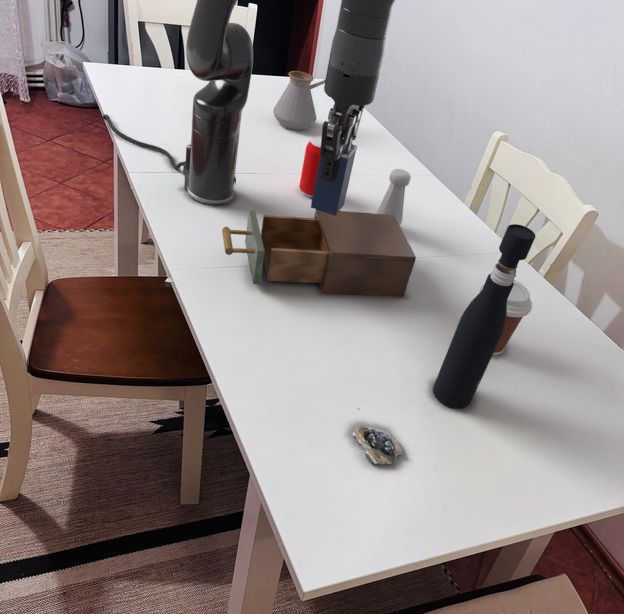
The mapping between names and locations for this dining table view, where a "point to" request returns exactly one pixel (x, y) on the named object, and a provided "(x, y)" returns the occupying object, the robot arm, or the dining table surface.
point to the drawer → (282, 248)
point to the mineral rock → (378, 444)
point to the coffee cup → (514, 313)
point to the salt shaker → (395, 195)
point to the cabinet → (365, 254)
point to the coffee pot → (297, 102)
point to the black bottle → (481, 324)
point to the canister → (334, 183)
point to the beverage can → (310, 166)
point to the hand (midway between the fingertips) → (332, 173)
